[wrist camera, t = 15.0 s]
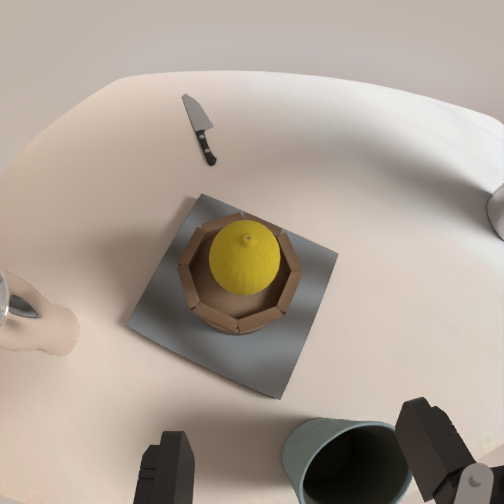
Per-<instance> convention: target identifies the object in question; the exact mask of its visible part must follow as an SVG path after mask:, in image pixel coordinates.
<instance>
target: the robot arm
mask: <svg viewBox="0 0 504 504" xmlns="http://www.w3.org/2000/svg"><path fill="white" fill-rule="evenodd" d="M487 211H488V216H489V220H490V222H491V224H492V226H493V228H494V230H495V231H496V233H497V234H498V235H499V236H500V237H501V238H502V239H503V240H504V184H502V185H501V186H500V187H499V188H498V189H497V190H496V191H494V192H493V193H492V198H491V199H489V201H488V204H487ZM395 435H396V439H397V441H398V443H399V445H400V448H401V450H402V452H403V454H404V456H405V459H406V461H407V463H408V465H409V467H410V470H411V472H412V474H413V477H414V479H415V481H416V483H417V486H418V488H419V490H420V492H421V495H422V497H423V500H424V502H427V501H429V500H432V499H434V500H435V502H436V504H504V465H503V466H498V467H492V468H489V467H488V466H486V465H484V464H481V463H477V462H476V461H475V460H474V458H473V457H472V455H471V453H470V452H469V450H468V448H467V447H466V445H465V443H464V442H463V440H462V438H461V437H460V435H459V433H457V430H456V428H455V427H454V425H452V422H451V420H450V419H449V417H448V416H447V414H446V413H445V412H444V411H442V410H441V409H440V408H438V407H437V406H434V407H431V406H430V405H429V403H428V401H427V400H426V399H425V398H424V397H420V398H416V399H413V400H409V401H406V402H404V403H403V406H402V409H401V412H400V414H399V417H398V420H397V423H396V426H395ZM194 470H195V461H194V455H193V451H192V449H191V446H190V444H189V441H188V439H187V436H186V434H185V432H184V431H164V432H163V433H162V436H161V442H160V445H150V446H149V447H148V449H147V450H146V451H145V453H144V454H143V456H142V461H141V466H140V471H139V476H138V478H139V479H138V481H137V486H136V492H135V497H134V503H133V504H192V501H193V485H194Z"/></svg>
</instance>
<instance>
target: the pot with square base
mask: <svg viewBox="0 0 504 504" xmlns="http://www.w3.org/2000/svg"><path fill="white" fill-rule="evenodd" d="M240 220H251V221H255V222H258V223H260V224H262V225H264V226H266V227H267V228H268V229H269V230H270V231H271V232H272V234H273V235H274V236H275V238H276V240H277V243H278V245H279V249H280V264H279V269H278V272H277V274H276V276H275V278H274V279H273V281H272V282H271V283H270V284H269V285H268V286H267V287H266V288H264V289H263V290H261V291H260V292H257V293H255V294H252V295H238V294H234V293H231V292H229V291H227V290H225V289H224V288H223V287H221V286H220V285H219V283H218V282H217V281H216V280H215V278H214V276H213V274H212V272H211V269H210V263H209V255H210V248H211V246H212V243H213V241H214V239H215V237H216V236H217V234H218V233H219V232H220V231H221V230H222V229H223V228H224V227H226V226H227V225H229V224H231V223H233V222H235V221H240ZM337 257H338V253H336V252H334V251H332V250H329V249H327V248H325V247H323V246H321V245H318V244H316V243H314V242H312V241H310V240H307V239H305V238H303V237H301V236H299V235H296V234H294V233H292V232H290V231H287V230H285V229H283V228H281V227H278V226H276V225H274V224H272V223H269V222H267V221H265V220H262V219H260V218H258V217H256V216H253V215H251V214H249V213H246V212H244V211H242V210H239V209H237V208H235V207H232V206H230V205H228V204H225V203H223V202H221V201H218V200H216V199H214V198H211V197H209V196H206V195H204V194H201V195H200V197H199V198H198V200H197V202H196V203H195V205H194V207H193V208H192V210H191V211H190V213H189V215H188V216H187V218H186V220H185V221H184V223H183V225H182V226H181V228H180V230H179V231H178V233H177V235H176V237H175V238H174V240H173V242H172V243H171V245H170V247H169V249H168V250H167V252H166V254H165V255H164V257H163V259H162V261H161V263H160V264H159V266H158V268H157V270H156V271H155V273H154V275H153V277H152V279H151V280H150V282H149V284H148V286H147V288H146V289H145V291H144V293H143V295H142V297H141V299H140V301H139V302H138V304H137V306H136V308H135V310H134V312H133V314H132V316H131V318H130V319H129V321H128V323H127V325H126V326H128V327H129V328H131V329H133V330H135V331H136V332H138V333H140V334H142V335H143V336H145V337H147V338H149V339H151V340H153V341H154V342H156V343H158V344H160V345H162V346H164V347H166V348H168V349H169V350H171V351H173V352H175V353H177V354H179V355H181V356H183V357H185V358H187V359H189V360H191V361H193V362H195V363H197V364H199V365H201V366H203V367H205V368H207V369H210V370H212V371H214V372H216V373H218V374H220V375H222V376H225V377H227V378H229V379H231V380H233V381H236V382H238V383H240V384H243V385H245V386H247V387H249V388H252V389H254V390H257V391H259V392H261V393H264V394H266V395H269V396H271V397H274V398H276V399H279V400H280V399H281V397H282V395H283V392H284V390H285V388H286V386H287V384H288V381H289V379H290V377H291V374H292V372H293V370H294V367H295V365H296V363H297V360H298V358H299V356H300V353H301V351H302V349H303V346H304V344H305V341H306V339H307V336H308V334H309V331H310V329H311V326H312V324H313V321H314V319H315V316H316V314H317V311H318V309H319V306H320V303H321V301H322V298H323V295H324V293H325V290H326V287H327V285H328V282H329V279H330V277H331V274H332V271H333V268H334V265H335V263H336V260H337Z"/></svg>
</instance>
